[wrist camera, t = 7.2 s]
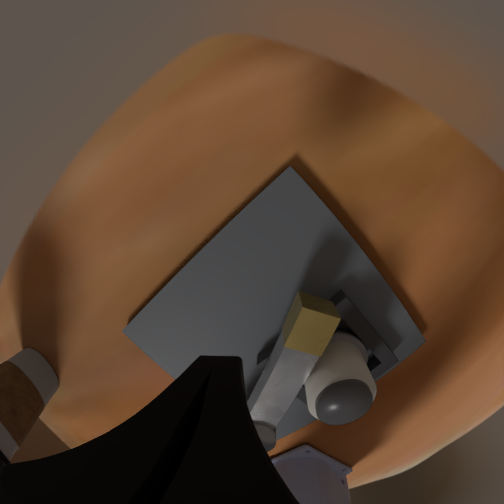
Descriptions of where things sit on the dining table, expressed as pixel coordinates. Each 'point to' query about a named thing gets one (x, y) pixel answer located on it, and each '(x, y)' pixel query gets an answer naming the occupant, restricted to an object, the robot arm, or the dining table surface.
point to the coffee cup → (22, 398)
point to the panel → (273, 293)
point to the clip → (291, 362)
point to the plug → (341, 381)
